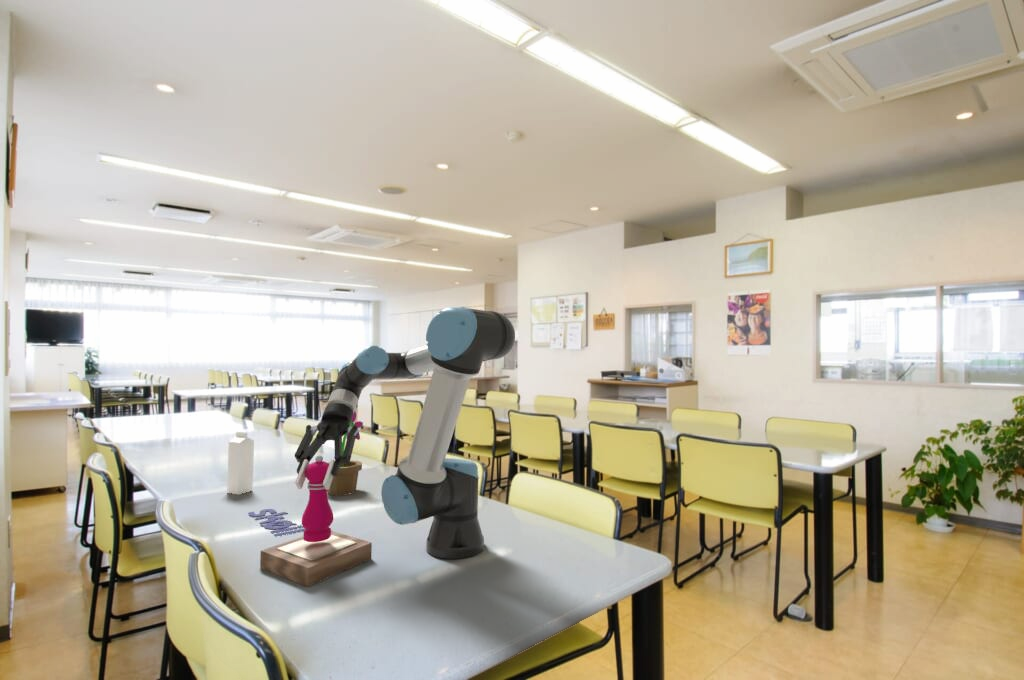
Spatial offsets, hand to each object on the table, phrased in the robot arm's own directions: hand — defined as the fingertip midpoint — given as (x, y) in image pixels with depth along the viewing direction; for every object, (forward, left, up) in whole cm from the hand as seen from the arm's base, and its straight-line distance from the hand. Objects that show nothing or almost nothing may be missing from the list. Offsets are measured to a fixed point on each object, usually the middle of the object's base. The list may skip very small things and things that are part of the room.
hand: (312, 486), depth 117 cm
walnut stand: (+2, -3, -19) cm, 20 cm away
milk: (+81, -28, -20) cm, 88 cm away
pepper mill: (+2, -3, -14) cm, 14 cm away
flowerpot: (+50, -49, -20) cm, 72 cm away
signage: (+39, -16, -20) cm, 46 cm away
